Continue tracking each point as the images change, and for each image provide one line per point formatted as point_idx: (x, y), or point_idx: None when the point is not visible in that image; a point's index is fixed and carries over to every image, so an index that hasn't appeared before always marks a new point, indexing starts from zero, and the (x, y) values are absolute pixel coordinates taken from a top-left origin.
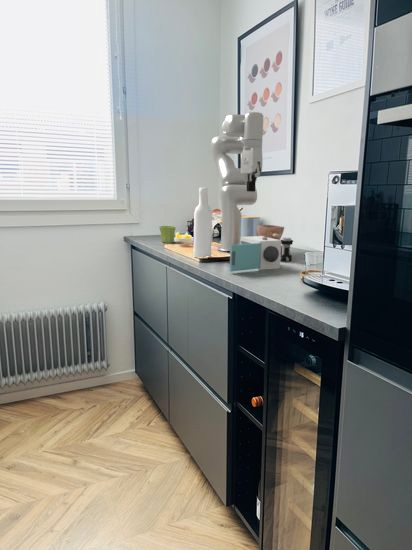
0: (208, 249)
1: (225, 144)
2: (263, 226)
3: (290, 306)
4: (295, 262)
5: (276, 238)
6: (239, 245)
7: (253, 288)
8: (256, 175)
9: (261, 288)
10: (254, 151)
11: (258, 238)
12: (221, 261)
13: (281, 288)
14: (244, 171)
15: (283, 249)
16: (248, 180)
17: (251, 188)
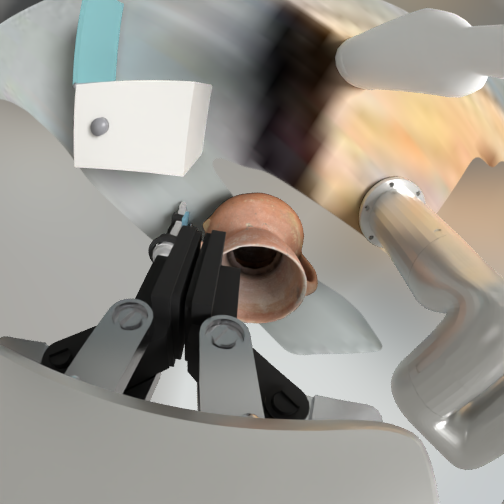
0: (343, 59)
1: None
2: (300, 291)
3: None
4: (160, 233)
5: None
6: (81, 12)
7: (29, 15)
8: (9, 348)
9: (24, 27)
10: None
11: (128, 120)
12: (268, 59)
13: (12, 58)
14: (204, 455)
15: (172, 229)
16: (201, 333)
17: (157, 258)
